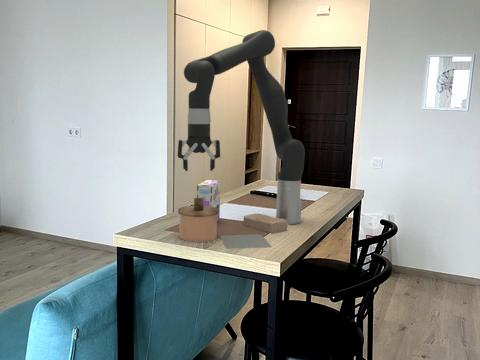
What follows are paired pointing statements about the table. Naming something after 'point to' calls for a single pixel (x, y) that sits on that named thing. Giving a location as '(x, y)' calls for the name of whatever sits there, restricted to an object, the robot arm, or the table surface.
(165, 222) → the table surface
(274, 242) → the table surface
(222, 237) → the mat
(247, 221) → the brick
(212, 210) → the lid
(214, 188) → the candy box
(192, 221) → the pot
